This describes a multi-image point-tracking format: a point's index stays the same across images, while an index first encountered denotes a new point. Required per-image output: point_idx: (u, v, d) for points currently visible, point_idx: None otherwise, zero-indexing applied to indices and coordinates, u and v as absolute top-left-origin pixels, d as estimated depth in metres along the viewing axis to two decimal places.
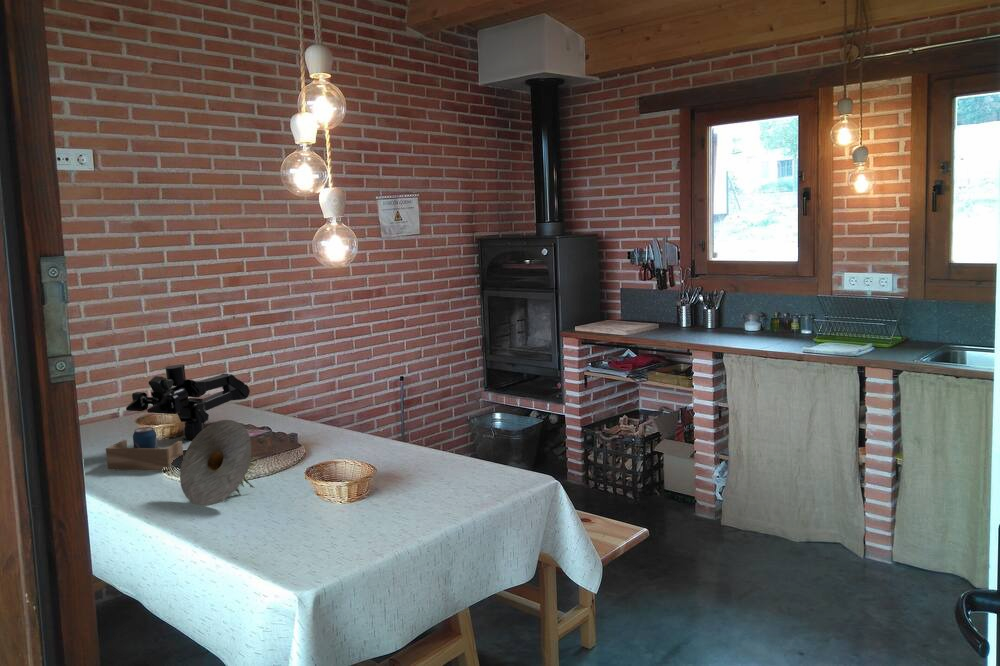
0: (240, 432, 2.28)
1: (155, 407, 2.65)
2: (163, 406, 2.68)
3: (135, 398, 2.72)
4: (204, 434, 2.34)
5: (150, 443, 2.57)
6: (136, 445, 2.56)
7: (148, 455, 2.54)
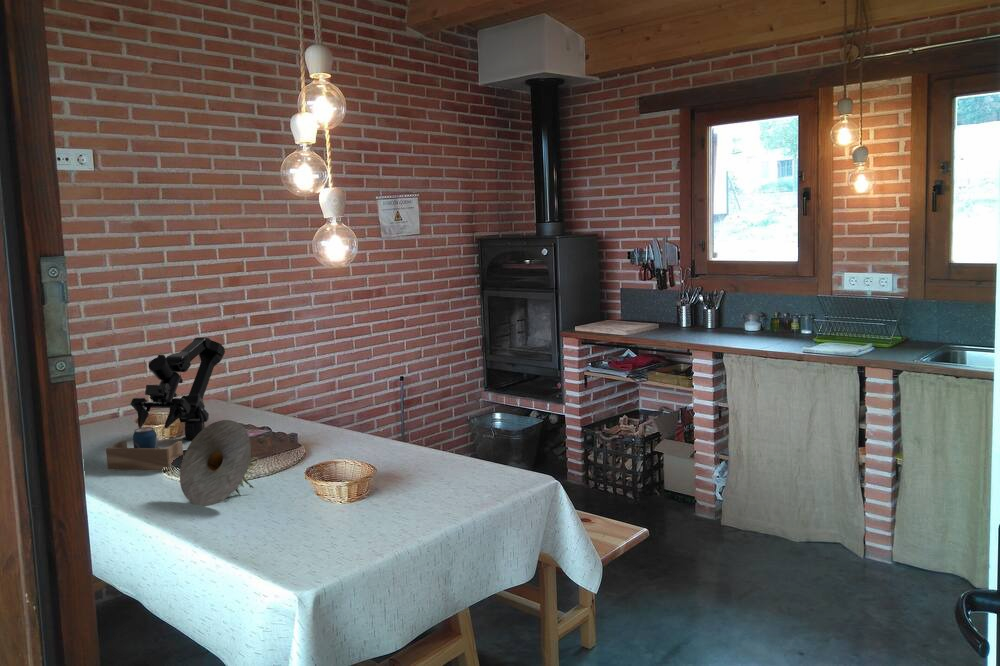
0: (239, 433, 2.28)
1: (169, 419, 2.64)
2: (174, 412, 2.66)
3: (138, 409, 2.66)
4: (203, 434, 2.34)
5: (150, 443, 2.57)
6: (136, 445, 2.56)
7: (148, 455, 2.54)
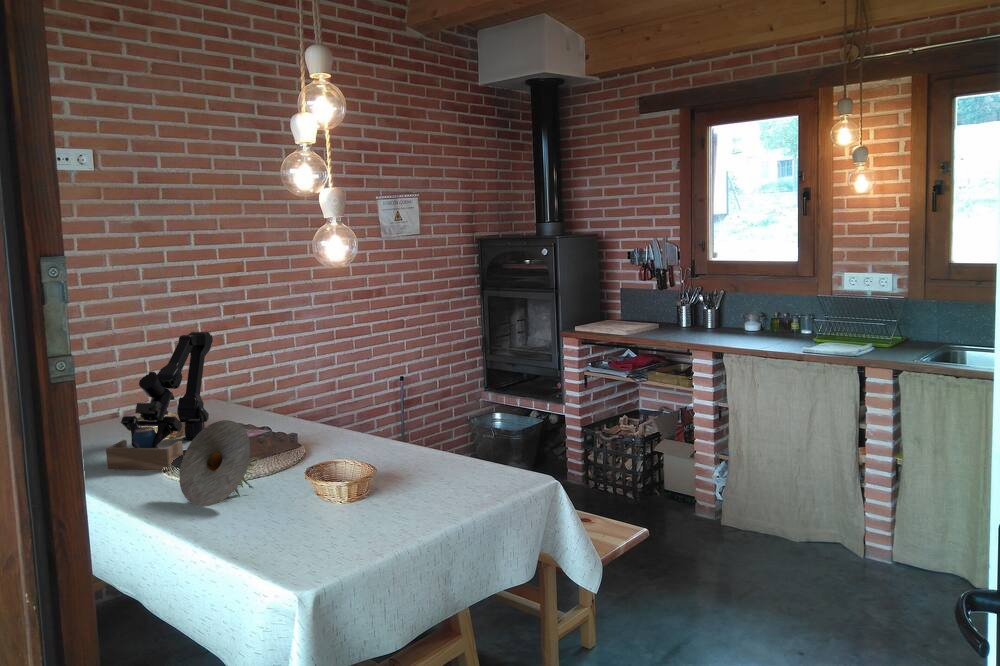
0: (239, 433, 2.28)
1: (157, 438, 2.59)
2: (162, 431, 2.61)
3: (131, 427, 2.60)
4: (203, 434, 2.33)
5: (150, 443, 2.57)
6: (136, 445, 2.56)
7: (148, 455, 2.54)
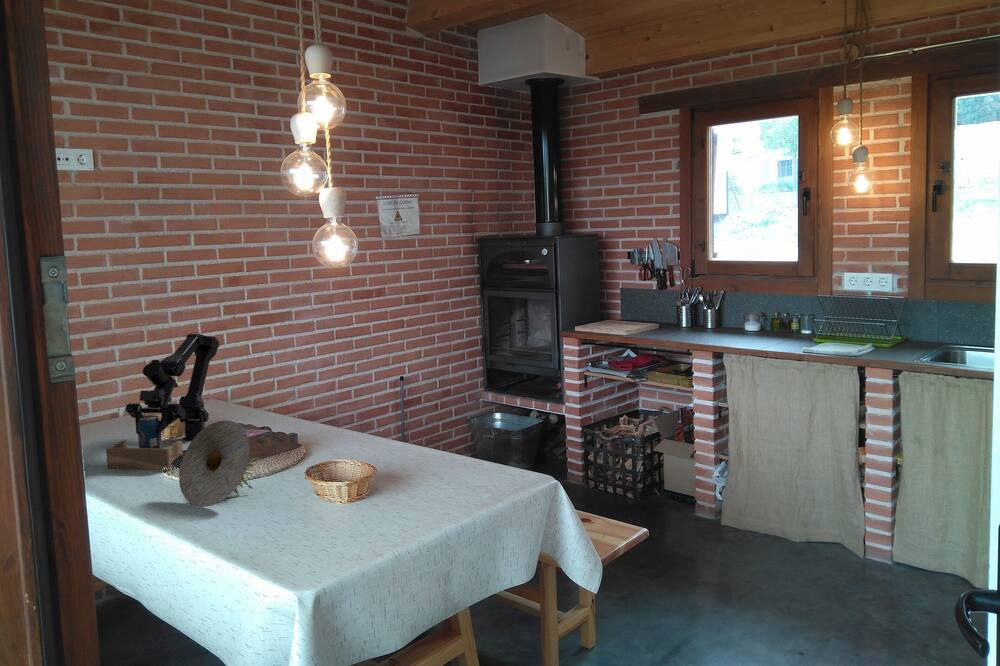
0: (238, 433, 2.28)
1: (161, 425, 2.61)
2: (166, 418, 2.63)
3: (136, 415, 2.63)
4: (203, 434, 2.33)
5: (154, 431, 2.59)
6: (141, 433, 2.58)
7: (148, 455, 2.54)
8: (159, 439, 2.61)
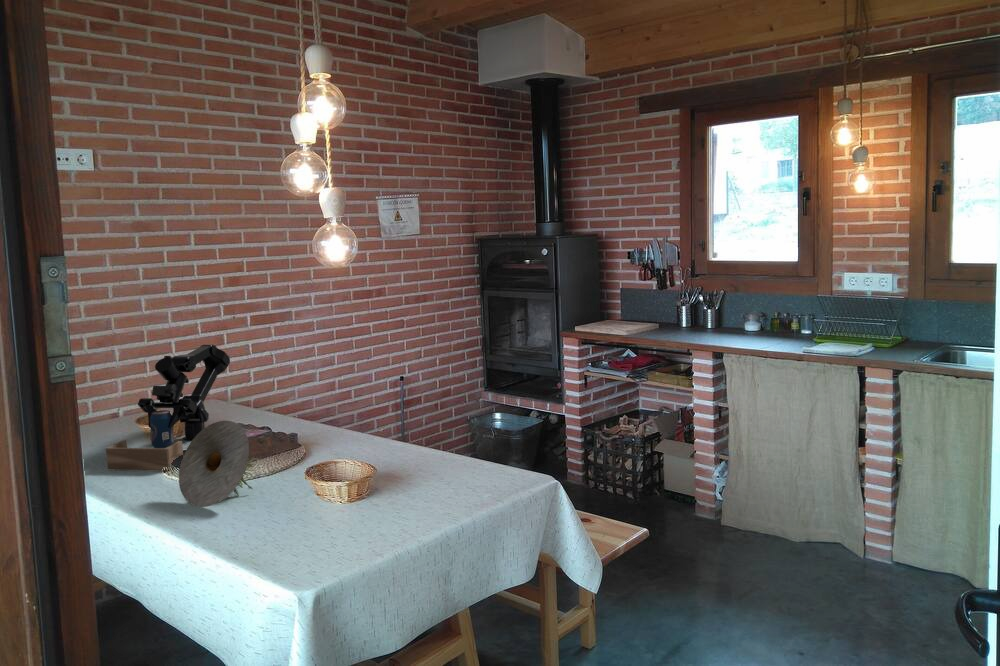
0: (238, 433, 2.27)
1: (173, 420, 2.68)
2: (178, 413, 2.70)
3: (148, 409, 2.70)
4: (203, 434, 2.33)
5: (166, 425, 2.66)
6: (153, 427, 2.66)
7: (148, 455, 2.54)
8: (171, 433, 2.68)
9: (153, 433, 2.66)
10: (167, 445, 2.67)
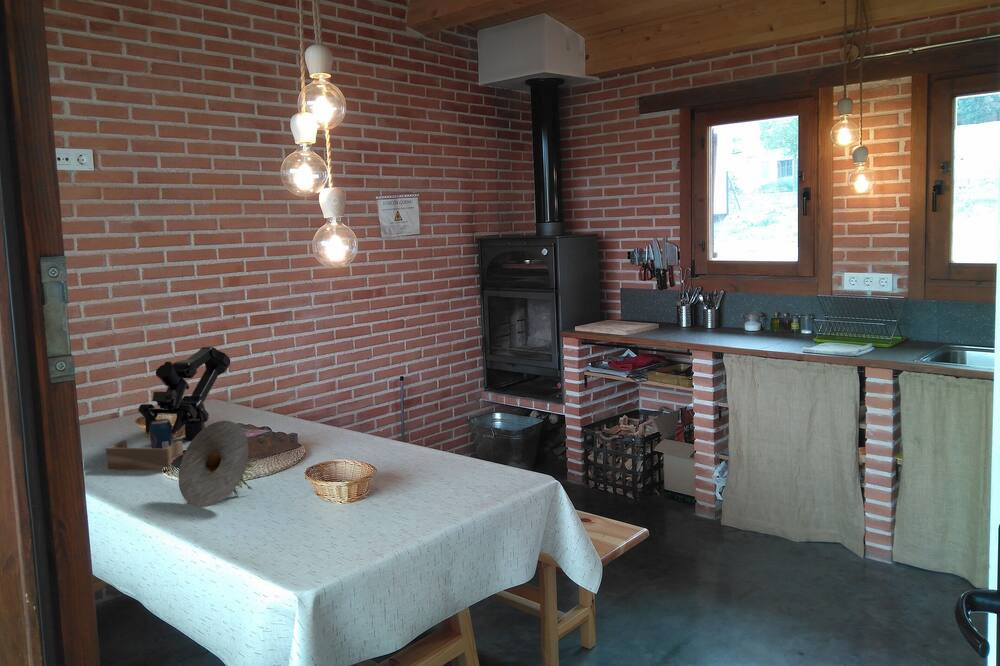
0: (237, 434, 2.27)
1: (176, 426, 2.68)
2: (181, 419, 2.70)
3: (145, 415, 2.70)
4: (202, 434, 2.33)
5: (166, 434, 2.66)
6: (153, 437, 2.66)
7: (148, 455, 2.54)
8: (171, 442, 2.69)
9: (153, 443, 2.66)
10: None
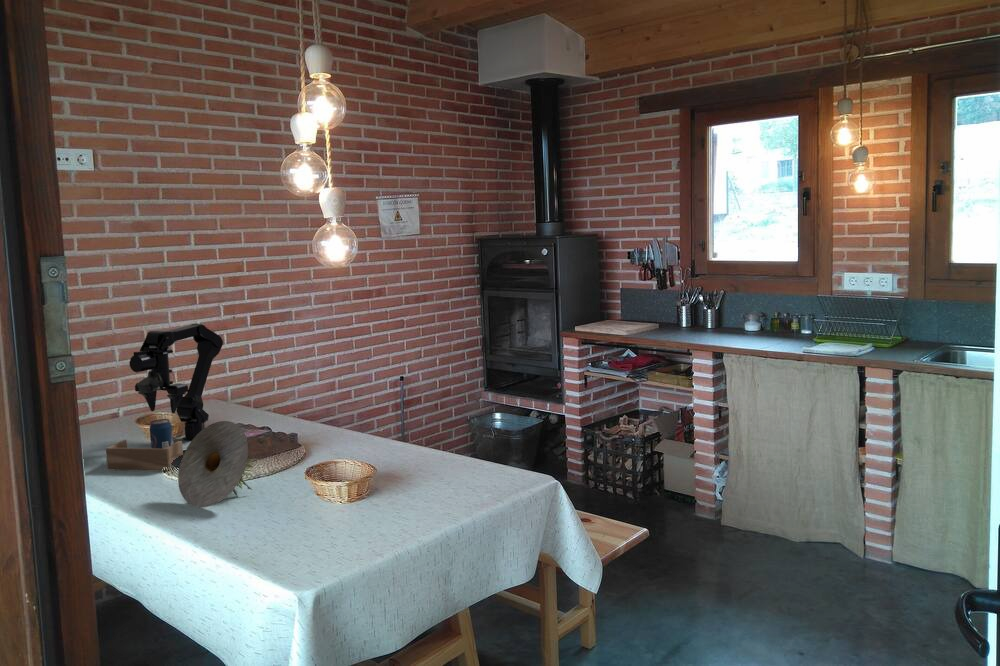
0: (237, 434, 2.27)
1: (173, 406, 2.73)
2: (175, 396, 2.73)
3: (144, 395, 2.76)
4: (202, 435, 2.33)
5: (166, 434, 2.66)
6: (153, 437, 2.66)
7: (148, 455, 2.54)
8: (171, 442, 2.69)
9: (153, 443, 2.66)
10: None
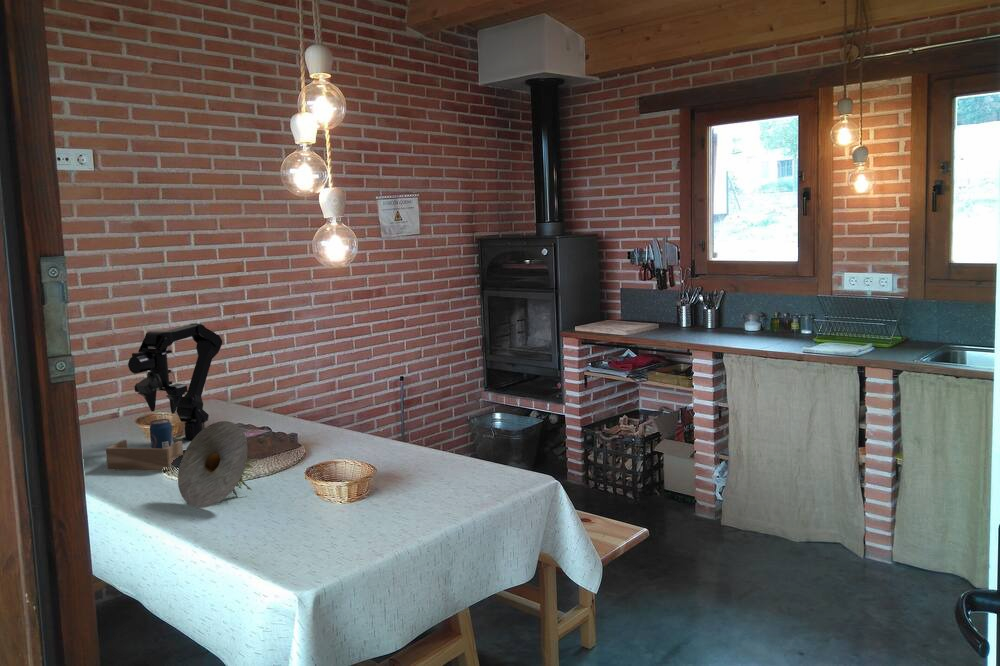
0: (237, 434, 2.27)
1: (173, 406, 2.73)
2: (174, 397, 2.73)
3: (143, 396, 2.76)
4: (202, 435, 2.33)
5: (166, 434, 2.66)
6: (153, 437, 2.66)
7: (148, 455, 2.54)
8: (171, 442, 2.69)
9: (153, 443, 2.66)
10: None
